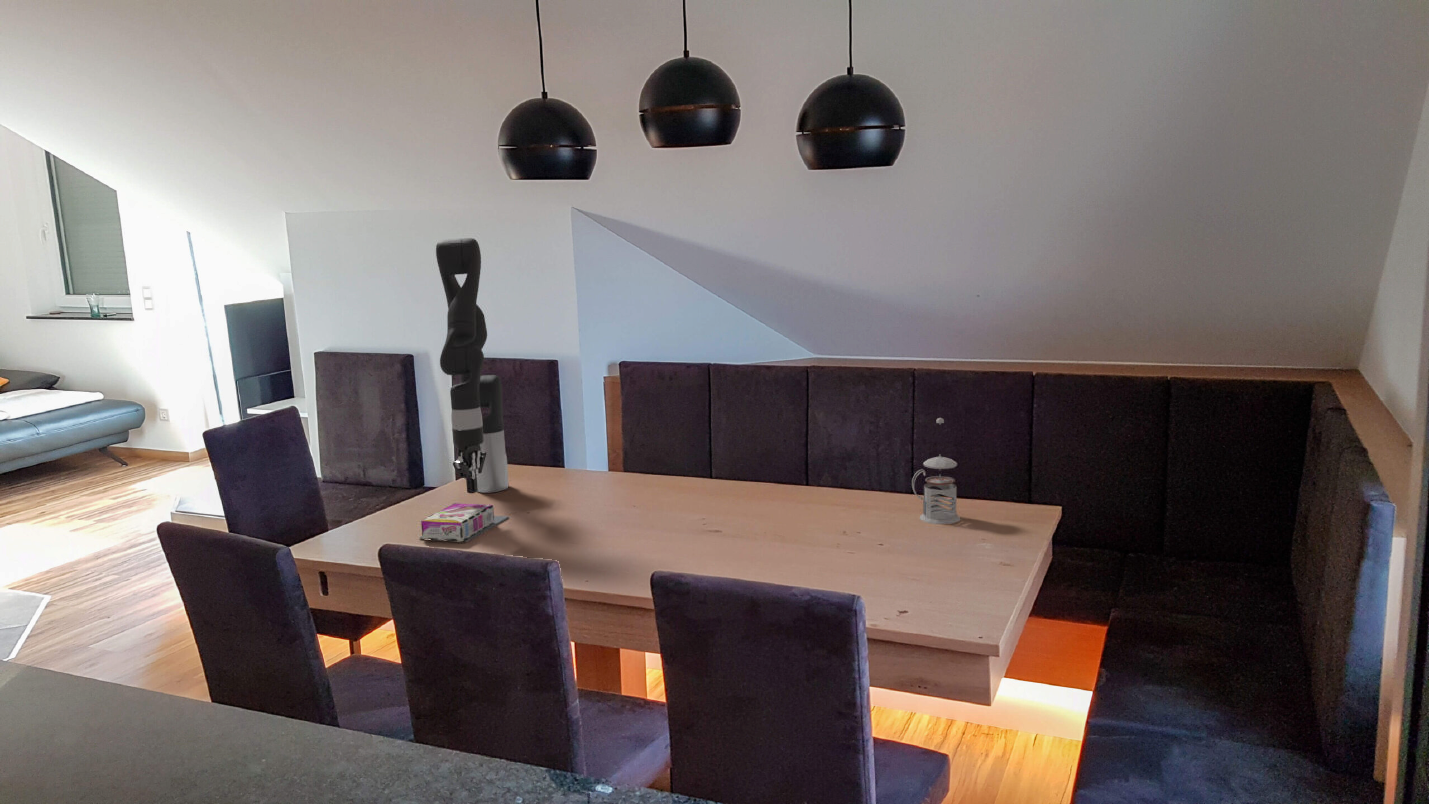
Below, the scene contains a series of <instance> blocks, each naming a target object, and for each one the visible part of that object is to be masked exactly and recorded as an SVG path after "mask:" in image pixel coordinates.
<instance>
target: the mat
mask: <svg viewBox="0 0 1429 804" xmlns="http://www.w3.org/2000/svg"><path fill="white" fill-rule="evenodd" d="M509 519H510V518H509V515H507V516H506V515H494V523H492V524H491V525H489V526H487V527H486V528H484V529H482V530H481V531H479V532H477V533H476V534H474V535H472V536H470V537H469V538H467V539H465V540H464V541H462V542H461V543H463V542H467V541H469V540H470V541H472V540H474V539H475V538H477V537H478V535H479V536H481V535H482V534H484V533H485V531H486V532H487V530H488V531H489V530H491V529H493V528H495V527H496V526H498V525H500V524H502V523H503V522H505V521H506V520H509ZM501 522H502V523H501ZM494 526H495V527H494ZM492 527H493V528H492ZM483 532H484V533H483ZM480 534H481V535H480ZM476 536H477V537H476ZM474 537H475V538H474ZM419 538H420V539H422V536H420V537H419ZM473 538H474V539H473ZM471 539H472V540H471ZM470 541H469V542H470ZM467 543H468V542H467Z"/></svg>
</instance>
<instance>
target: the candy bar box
mask: <svg viewBox="0 0 1429 804" xmlns="http://www.w3.org/2000/svg"><path fill="white" fill-rule="evenodd" d="M494 514H495V512H494V505H493V504H479V503H478V504H477V503H457V502H455V503H452V504H451V505H449V506H447V507H445V508H443V509H441V510H439V511H437V512H435V513H433V514H432V515H430V516H429V515H428V516H427V517H426V518H424V519H421V520H420V525H421V537H422V539H431V540H447V541H464V540H465V539H467V538H469V537H470V536H472V535H474V534H476V533H477V532H479V531H481V530H482V529H484V528H486V527H487V526H489V525H491V524H492V523H494V516H495V515H494Z"/></svg>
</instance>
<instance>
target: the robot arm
mask: <svg viewBox="0 0 1429 804" xmlns="http://www.w3.org/2000/svg"><path fill="white" fill-rule="evenodd" d="M481 255H482V254H481V247H480V245H479V242H478V241H477V240H476V239H475V238H470V237H466V238H454V239H453V238H452V239H442V240H439V241H437V244H436V247H435V257H436V262H437V265H438V270H439V275H440V278H441V282H442V285H443V290H444V293H445V296H446V297H445V298H446V302H447V308H448V309H447V320H446V321H447V333H446V339H445V342H444V345H443V348H442V350H441V354H440V358H439V365H440V369H441V371H442V372H443V373H444V374H445V375H447V376H459V377H460V383H457V384H454V385H453V386H451V387H450V390H449V395H450V407H451V415H450V417H451V418H450V419H451V420H450V421H451V430H452V431H451V432H452V444H453V445H454V446H456V447H457V457H458V458H457V459H456V461H455V460H454V461H453V462H452V466H453V467H454V469H455V471H456V473H457V474H458V476H459V478H460V479H465V481H466V491H467V492H466V493H467V494H476V493H477V492H478V493H484V494H485V493H488V494H489V493H497V492H503V491H505V490H507V489H508V488H509V485H510V483H509V471H508V469H509V468H508V458H507V453H506V441H505V430H504V428H505V426H504V412H503V409H504V408H503V386H502V385H503V384H502V380H501V378H500V377H499V375H497V374H496V375H495V374H489V375H488V374H486V375H482V372H483V367H484V363H485V356H484V354H485V353H483V350H482V349H483V348H484V346H485V344H486V342H487V338H488V329H487V324H486V318H485V314H484V311H482V309H481V307H480V306H479V304H477V301H478V292H479V288H480V287H479V286H480V278H481V270H482V256H481ZM456 275H466V278H465V280H464V282H463V284H462V286H461V285H460V283H459V281H458V280H457V277H456ZM484 408H485V409H486V408H487V409H488V408H489V410H490V411H489V413H488V414H486V415H484V416H483V415H482V410H481V409H484Z"/></svg>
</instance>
